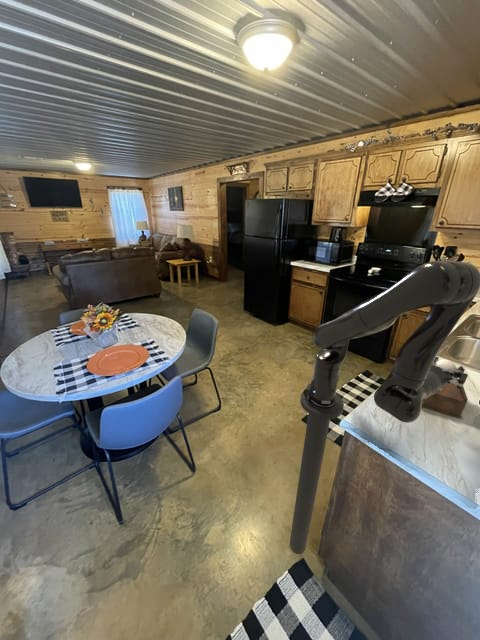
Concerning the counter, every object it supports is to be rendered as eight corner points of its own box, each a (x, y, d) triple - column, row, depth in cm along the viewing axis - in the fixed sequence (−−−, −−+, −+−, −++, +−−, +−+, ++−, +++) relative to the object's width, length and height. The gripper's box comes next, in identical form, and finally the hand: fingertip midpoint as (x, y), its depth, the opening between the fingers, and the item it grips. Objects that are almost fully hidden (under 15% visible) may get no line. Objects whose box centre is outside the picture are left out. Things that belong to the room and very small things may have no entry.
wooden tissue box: (407, 402, 100) (413, 384, 96) (407, 382, 111) (412, 366, 108) (459, 418, 92) (467, 399, 89) (453, 395, 103) (460, 378, 100)
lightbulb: (450, 397, 83) (462, 368, 79) (427, 392, 85) (438, 363, 81) (445, 386, 88) (457, 358, 84) (424, 381, 90) (434, 354, 86)
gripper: (459, 383, 69) (481, 364, 78) (403, 359, 80) (427, 344, 89) (450, 405, 72) (472, 385, 81) (396, 379, 83) (421, 363, 91)
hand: (448, 364), depth 85 cm, fingers closed on lightbulb, 6 cm apart
